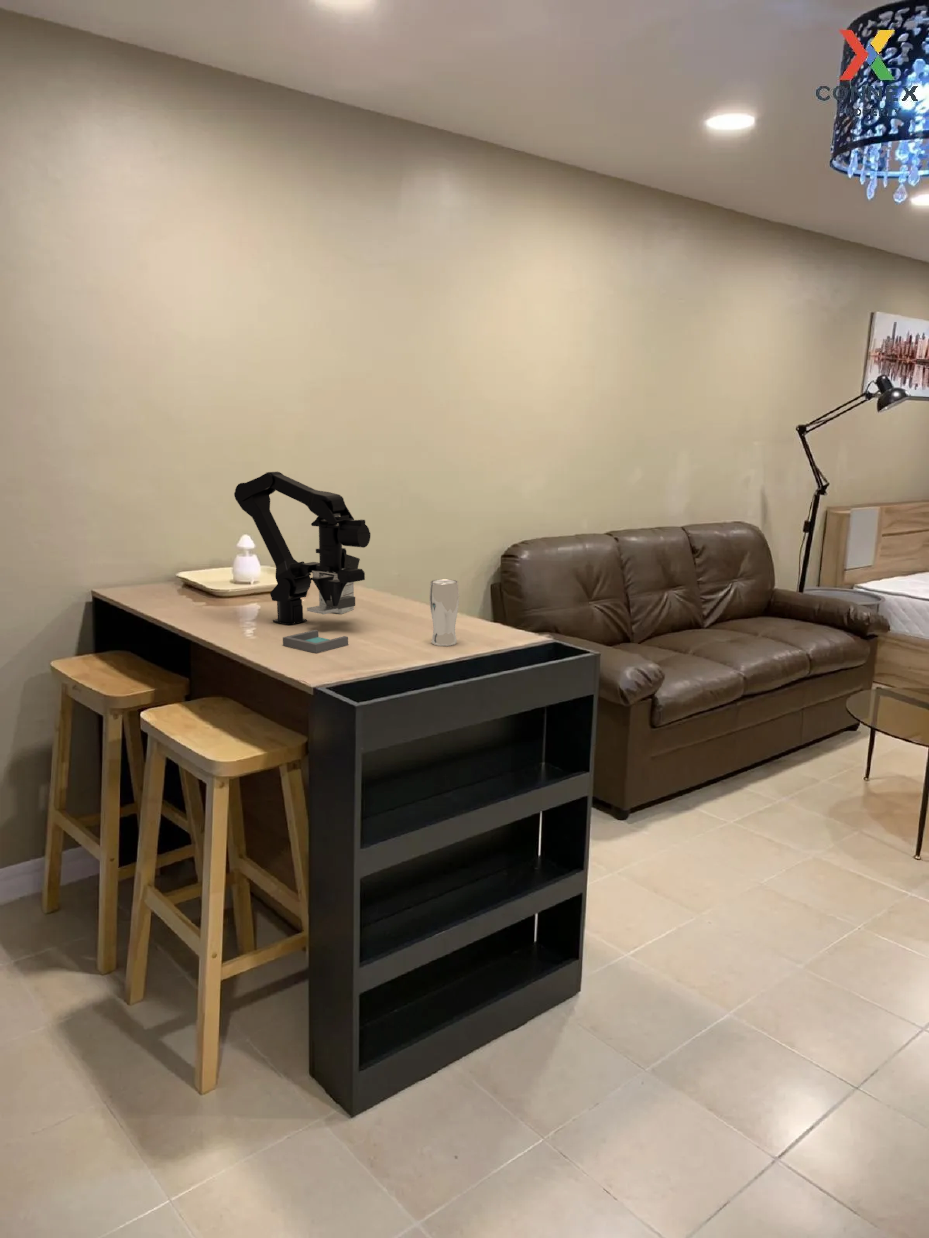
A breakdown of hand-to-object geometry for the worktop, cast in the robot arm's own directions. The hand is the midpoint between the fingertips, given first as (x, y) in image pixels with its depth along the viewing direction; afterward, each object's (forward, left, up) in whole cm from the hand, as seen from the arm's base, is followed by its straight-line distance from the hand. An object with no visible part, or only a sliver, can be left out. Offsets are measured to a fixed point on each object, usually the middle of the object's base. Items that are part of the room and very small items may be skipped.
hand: (331, 605), depth 230 cm
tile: (+11, -15, -6) cm, 19 cm away
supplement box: (-14, +16, -6) cm, 22 cm away
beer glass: (+33, +6, -6) cm, 34 cm away
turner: (0, +1, -1) cm, 1 cm away
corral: (+11, -15, -6) cm, 19 cm away
